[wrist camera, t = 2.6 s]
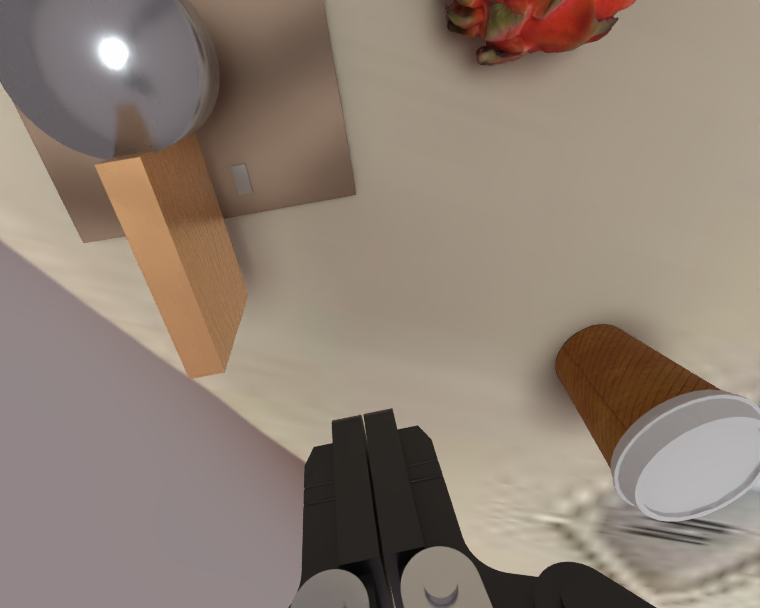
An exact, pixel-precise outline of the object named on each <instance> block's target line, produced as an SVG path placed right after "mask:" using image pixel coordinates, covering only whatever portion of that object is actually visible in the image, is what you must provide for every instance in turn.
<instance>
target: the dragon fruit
mask: <svg viewBox="0 0 760 608" xmlns="http://www.w3.org/2000/svg"><path fill="white" fill-rule="evenodd" d="M635 1H636V0H455V1H454V3H453V4H452V5H451V6H450V7H448V6H447V4H444V5H445V9H446V11H447V12H445V13H446V19H447V28H448V30H450V31H452V32H456V33H459V34H461V35H463V36H466V37H469V38H475V37H477V36H480V37H481V39H482V40H485V41H486V46H483V47H480V48H479V49H478V50H477V51H476V55H477V62H478V63H479V64H480V65H489V66H490V65H494V64H501V63H506V62H510V61H514V60H517V59H519V58H520V57H522V56H523V55H524V54H525V53H526V52H527V51H528V52H529V53H530V54H532V53H533V52H536V51H544V52H546V53H551V52H556V53H558V52H565V51H570V50H574V49H576V48H577V47H579V46H581V45H583V44H585V43H589V42H594V41H598V40H599V39H601V38H602V37H604V36H605V35H606V34H608V32H609V31H610V30H611V28H612V26H613V25H614V24H615V23H616V22H617V21H618V18H614V17H613V16H614V15H615V14H616V13H617V12H618V11H620V10H623V9H625V8H628V7H629V6H630V5H632V4H633V3H634V2H635Z"/></svg>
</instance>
